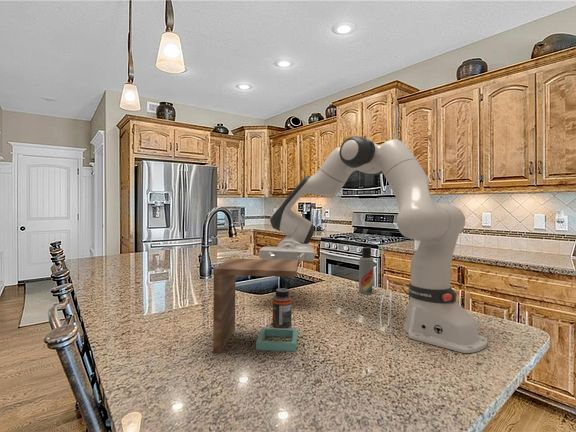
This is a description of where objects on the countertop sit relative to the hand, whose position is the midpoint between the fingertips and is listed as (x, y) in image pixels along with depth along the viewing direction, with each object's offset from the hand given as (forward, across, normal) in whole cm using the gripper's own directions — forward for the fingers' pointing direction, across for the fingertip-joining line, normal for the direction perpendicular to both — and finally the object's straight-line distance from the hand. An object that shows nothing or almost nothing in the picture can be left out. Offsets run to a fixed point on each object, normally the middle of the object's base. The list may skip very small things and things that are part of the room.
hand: (285, 258), depth 116 cm
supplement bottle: (+12, 0, +19) cm, 23 cm away
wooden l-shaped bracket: (+25, -5, +18) cm, 32 cm away
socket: (+25, 0, +18) cm, 31 cm away
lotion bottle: (-30, +33, +20) cm, 49 cm away
